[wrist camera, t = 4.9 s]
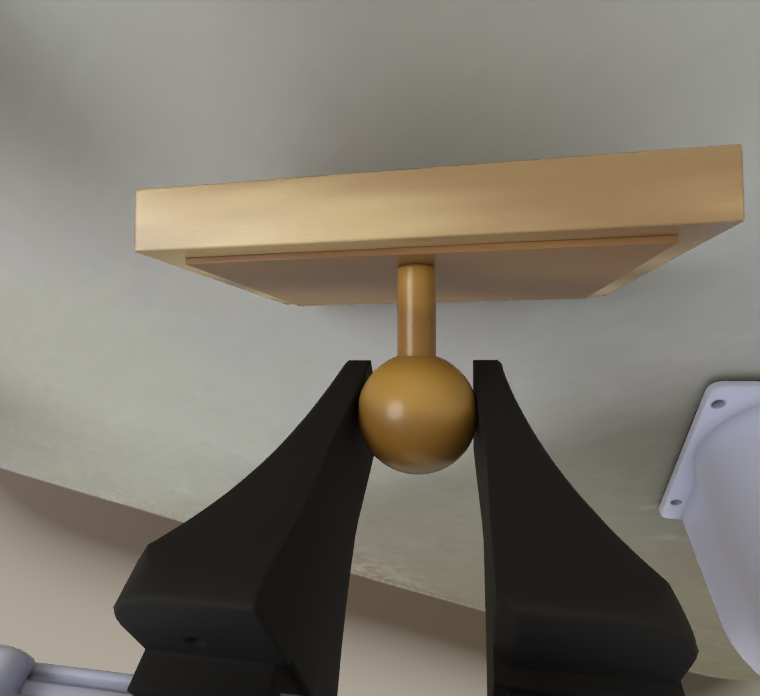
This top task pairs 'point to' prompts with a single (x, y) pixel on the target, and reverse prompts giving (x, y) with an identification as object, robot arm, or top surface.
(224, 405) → the top surface
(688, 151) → the wooden knob panel
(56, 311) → the top surface
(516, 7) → the top surface
